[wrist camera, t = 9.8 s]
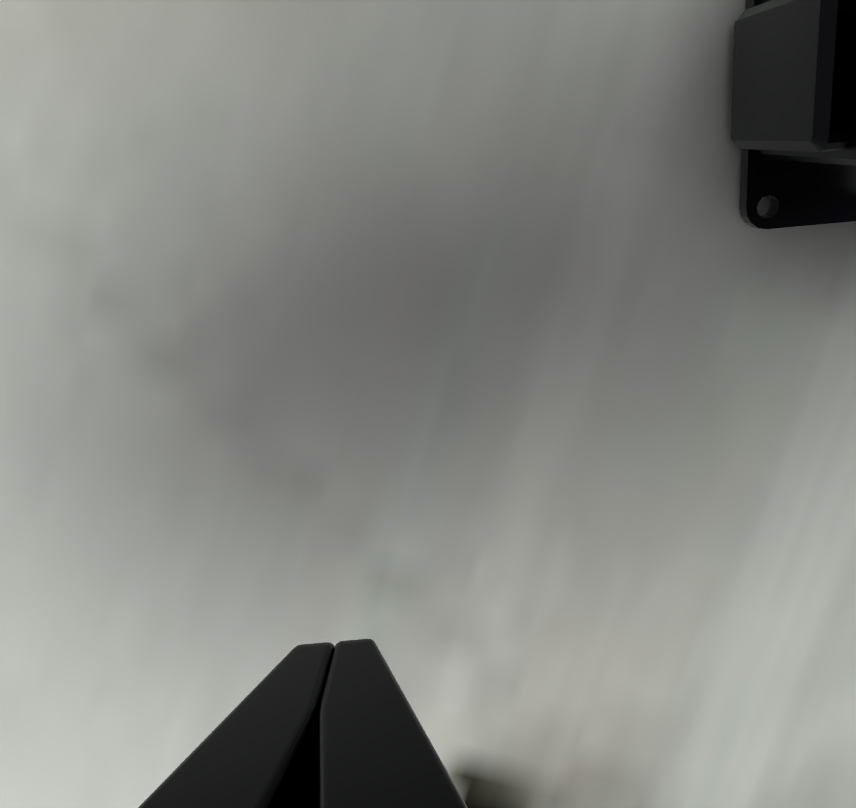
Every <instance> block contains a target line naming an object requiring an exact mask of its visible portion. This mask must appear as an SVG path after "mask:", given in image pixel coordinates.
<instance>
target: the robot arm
mask: <svg viewBox="0 0 856 808" xmlns="http://www.w3.org/2000/svg"><path fill="white" fill-rule="evenodd" d="M731 138H732V140H733V141H734V142H735V143H736V144H737V145H738V146H739V147H740V148H741V149H742V150H741V179H740V213H741V217H742V218H743V220H744V221H745V222H746V223H747V224H749V225H751V226H753V227H757V228H763V229H772V228H783V227H794V226H805V225H816V224H827V223H838V222H849V221H856V0H747V2H746V10H745V11H744V13H743V14H742V15H741V16H740V17H739V18H738V20H737V21H736V22H735V26H734V58H733V92H732V126H731ZM765 196H768V197H769V198H770V199H771V202H772V206H771V209H770V211H769V212H768V213H767V214H766V215H764V216H760V215H759V214H758V212H757V205H758V202H759V201H760V200H761V199H762V198H763V197H765ZM138 808H467V806H466V804H465V803H464V801H463V799H462V797H461V795H460V794H459V792H458V790H457V788H456V787H455V785H454V783H453V781H452V779H451V778H450V776H449V774H448V772H447V770H446V769H445V767H444V765H443V763H442V761H441V760H440V758H439V756H438V754H437V753H436V751H435V749H434V747H433V745H432V744H431V742H430V740H429V738H428V736H427V735H426V733H425V731H424V729H423V727H422V726H421V724H420V722H419V720H418V719H417V717H416V715H415V713H414V711H413V710H412V708H411V706H410V704H409V702H408V701H407V699H406V697H405V695H404V694H403V692H402V690H401V688H400V686H399V685H398V683H397V681H396V679H395V677H394V676H393V674H392V672H391V670H390V668H389V667H388V665H387V663H386V661H385V660H384V658H383V656H382V654H381V652H380V651H379V649H378V647H377V645H376V644H375V642H374V641H373V640H371V639H360V640H349V641H341V642H338V643H337V644H336V646H334V645H333V644H332V643H329V642H326V643H315V644H303V645H298V646H296V647H295V648H294V649H293V650H292V651H291V652H290V653H289V654H288V655H287V656H286V657H285V658H284V659H283V660H282V661H281V662H280V663H279V664H278V665H277V666H276V667H275V668H274V669H273V670H272V671H271V672H270V673H269V674H268V675H267V676H266V677H265V678H264V679H263V680H262V681H261V682H260V683H259V684H258V686H257V687H256V688H255V689H254V690H253V691H252V692H251V693H250V694H249V695H248V696H247V697H246V698H245V699H244V700H243V701H242V702H241V703H240V704H239V705H238V706H237V707H236V708H235V709H234V710H233V711H232V712H231V713H230V714H229V715H228V716H227V717H226V718H225V719H224V720H223V721H222V722H221V723H220V724H219V725H218V727H217V728H216V729H215V730H214V731H213V732H212V733H211V734H210V735H209V736H208V737H207V738H206V739H205V740H204V741H203V742H202V743H201V744H200V745H199V746H198V747H197V748H196V749H195V750H194V751H193V752H192V753H191V754H190V755H189V756H188V757H187V758H186V759H185V760H184V761H183V762H182V763H181V764H180V765H179V766H178V767H177V769H176V770H175V771H174V772H173V773H172V774H171V775H170V776H169V777H168V778H167V779H166V780H165V781H164V782H163V783H162V784H161V785H160V786H159V787H158V788H157V789H156V790H155V791H154V792H153V793H152V794H151V795H150V796H149V797H148V798H147V799H146V800H145V801H144V802H143V803H142V804H141V805H140V806H139V807H138Z"/></svg>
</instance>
